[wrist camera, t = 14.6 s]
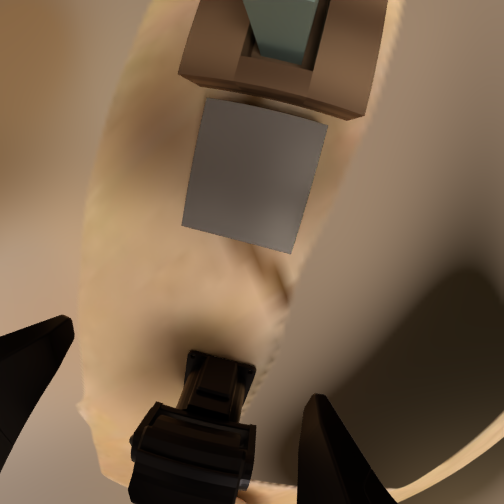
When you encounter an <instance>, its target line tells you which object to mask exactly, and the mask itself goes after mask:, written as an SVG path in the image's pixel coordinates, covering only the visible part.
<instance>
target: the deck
mask: <svg viewBox="0 0 504 504" xmlns="http://www.w3.org/2000/svg"><path fill="white" fill-rule="evenodd" d="M327 128H328V125H325V124H322V123H318V122H315V121H312V120H308V119H305V118H301V117H297V116H293V115H290V114H286V113H282V112H278V111H274V110H269V109H265V108H260V107H256V106H251V105H246V104H241V103H236V102H231V101H225V100H219V99H213V98H207V99H206V103H205V107H204V111H203V116H202V120H201V124H200V129H199V134H198V138H197V143H196V148H195V153H194V158H193V163H192V168H191V173H190V178H189V184H188V189H187V195H186V201H185V207H184V213H183V219H182V226H185V227H188V228H192V229H196V230H200V231H204V232H208V233H212V234H216V235H219V236H223V237H227V238H231V239H235V240H239V241H242V242H246V243H250V244H254V245H258V246H261V247H265V248H269V249H273V250H277V251H280V252H284V253H288V254H291V252H292V249H293V246H294V243H295V240H296V236H297V233H298V230H299V227H300V223H301V220H302V217H303V213H304V210H305V207H306V203H307V200H308V196H309V193H310V189H311V186H312V183H313V179H314V175H315V172H316V168H317V165H318V161H319V158H320V154H321V150H322V147H323V143H324V139H325V136H326V132H327Z"/></svg>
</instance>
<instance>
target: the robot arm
mask: <svg viewBox="0 0 504 504" xmlns="http://www.w3.org/2000/svg"><path fill="white" fill-rule="evenodd" d="M74 335H75V334H74V328H73V323H72V320H71V318H69V317H67V316H65V315H59V316H56V317H54V318H51V319H48V320H46V321H43V322H40V323H37V324H34V325H31V326H28V327H26V328H23V329H20V330H17V331H15V332H12V333H9V334H6V335H3V336H1V337H0V472H1V470H2V468H3V466H4V464H5V462H6V459H7V458H8V456H9V454H10V452H11V450H12V448H13V445H14V444H15V442H16V440H17V438H18V436H19V434H20V432H21V430H22V428H23V427H24V425H25V423H26V421H27V420H28V418H29V416H30V414H31V412H32V411H33V409H34V408H35V406H36V404H37V402H38V401H39V399H40V397H41V396H42V394H43V393H44V391H45V389H46V388H47V386H48V385H49V383H50V381H51V380H52V378H53V377H54V375H55V374H56V372H57V370H58V368H59V367H60V365H61V363H62V361H63V359H64V357H65V355H66V353H67V351H68V349H69V348H70V346H71V344H72V342H73V340H74ZM193 355H194V356H193ZM249 370H251V371H249ZM255 374H256V368H255V367H254V366H250V365H246V364H242V363H238V362H234V361H230V360H227V359H223V358H219V357H215V356H212V355H208V354H205V353H201V352H198V351H195V350H191V351H189V353H188V356H187V364H186V372H185V380H184V388H183V391H182V394H181V396H180V399H179V401H178V404H177V407H176V408H173V407H170V406H167V405H163V403H160V402H157V401H156V403H155V404H154V406H153V407H151V409H150V410H149V411H148V413H147V414H146V416H145V417H144V419H143V420H142V422H141V423H140V425H139V426H138V428H137V429H136V430H135V432H134V434H133V435H132V436H131V437H130V440H129V442H130V444H131V446H132V447H131V459H132V461H133V462H135V464H134V469H133V474H132V477H131V481H130V484H129V487H128V492H129V496H130V499H131V502H132V503H134V504H235V502H236V497H237V493H238V490H243V491H246V490H247V488H248V486H249V483H250V479H251V474H252V470H253V464H254V455H255V440H256V425H252V424H250V425H246V424H241V423H239V421H240V415H241V410H242V406H243V404H244V402H245V399H246V397H247V394H248V392H249V389H250V387H251V384H252V381H253V379H254V376H255ZM297 504H398V503H397V502H396V501H395V500H394V499H393V498H392V496H391V495H390V494H389V493H388V491H387V490H386V489H385V487H384V486H383V485H382V483H381V482H380V481H379V479H378V477H377V476H376V474H375V473H374V471H373V470H372V469H371V467H370V465H369V464H368V462H367V460H366V459H365V457H364V456H363V454H362V453H361V451H360V449H359V448H358V446H357V445H356V443H355V441H354V440H353V438H352V437H351V435H350V433H349V432H348V430H347V429H346V427H345V425H344V424H343V422H342V421H341V419H340V418H339V416H338V414H337V413H336V411H335V409H334V408H333V406H332V405H331V403H330V401H329V400H328V398H327V397H326V395H324V394H317V393H314V394H313V395H312V396H311V398H310V400H309V401H308V403H307V405H306V406H305V408H304V412H303V420H302V427H301V435H300V441H299V452H298V487H297Z"/></svg>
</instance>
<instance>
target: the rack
mask: <svg viewBox="0 0 504 504" xmlns="http://www.w3.org/2000/svg"><path fill="white" fill-rule="evenodd" d="M387 2H388V0H319V2H318V6H317V10H316V13H315V17H314V21H313V24H312V28H311V31H310V35H309V39H308V42H307V46H306V50H305V53H304V57H303V61H302V64H301V65H297V64H294V63H290V62H285V61H281V60H277V59H272V58H268V57H263V56H261V54H260V51H259V48H258V45H257V41H256V38H255V35H254V32H253V29H252V26H251V23H250V20H249V17H248V14H247V11H246V9H245V6H244V3H243V0H201V1H200V3H199V6H198V9H197V12H196V15H195V18H194V21H193V24H192V27H191V30H190V33H189V36H188V39H187V43H186V46H185V49H184V53H183V56H182V60H181V64H180V67H179V71H178V74H179V75H181V76H182V77H184V78H186V79H188V80H190V81H192V82H193V83H195V84H197V85H199V86H200V87H207V88H214V89H220V90H226V91H232V92H238V93H243V94H248V95H253V96H258V97H263V98H267V99H272V100H276V101H280V102H284V103H288V104H292V105H296V106H300V107H303V108H307V109H311V110H314V111H317V112H321V113H324V114H327V115H331V116H334V117H337V118H340V119H343V120H346V121H347V120H351V119H355V118H358V117H362V116H365V112H366V108H367V103H368V99H369V95H370V91H371V86H372V82H373V77H374V73H375V68H376V63H377V59H378V54H379V49H380V43H381V38H382V32H383V27H384V21H385V15H386V8H387Z"/></svg>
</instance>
